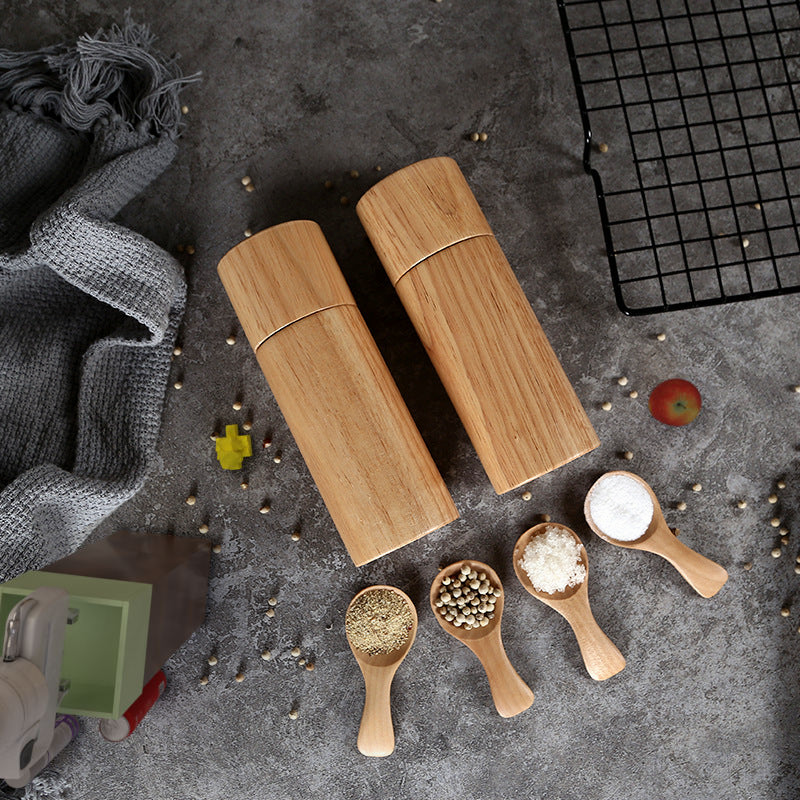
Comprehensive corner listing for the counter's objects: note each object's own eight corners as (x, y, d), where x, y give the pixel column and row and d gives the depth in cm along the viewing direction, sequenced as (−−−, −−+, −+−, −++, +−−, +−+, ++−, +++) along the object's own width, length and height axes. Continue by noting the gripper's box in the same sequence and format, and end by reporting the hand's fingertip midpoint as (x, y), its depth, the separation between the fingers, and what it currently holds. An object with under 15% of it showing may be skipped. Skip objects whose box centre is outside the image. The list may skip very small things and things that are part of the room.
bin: (20, 678, 91) (-15, 704, 83) (30, 570, 90) (-4, 586, 83) (142, 693, 90) (117, 720, 83) (152, 584, 90) (129, 601, 83)
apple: (695, 392, 114) (722, 392, 104) (673, 432, 114) (698, 436, 104) (655, 370, 114) (677, 369, 104) (633, 411, 114) (653, 413, 104)
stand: (113, 610, 118) (22, 676, 91) (121, 529, 117) (32, 572, 90) (204, 620, 117) (140, 690, 90) (212, 539, 117) (150, 586, 90)
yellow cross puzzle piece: (249, 423, 116) (237, 425, 108) (253, 466, 116) (241, 472, 109) (217, 426, 116) (203, 429, 109) (221, 469, 117) (207, 475, 109)
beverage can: (163, 661, 118) (125, 701, 103) (172, 695, 118) (136, 740, 103) (132, 669, 118) (90, 710, 103) (141, 703, 118) (101, 749, 103)
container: (53, 736, 119) (1, 786, 104) (57, 711, 118) (4, 758, 103) (78, 739, 118) (29, 791, 103) (81, 715, 118) (32, 762, 103)
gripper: (-16, 604, 70) (54, 567, 84) (-37, 785, 71) (36, 719, 85) (40, 612, 70) (102, 574, 84) (19, 793, 71) (83, 726, 85)
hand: (69, 648), depth 84 cm, fingers open, 8 cm apart
